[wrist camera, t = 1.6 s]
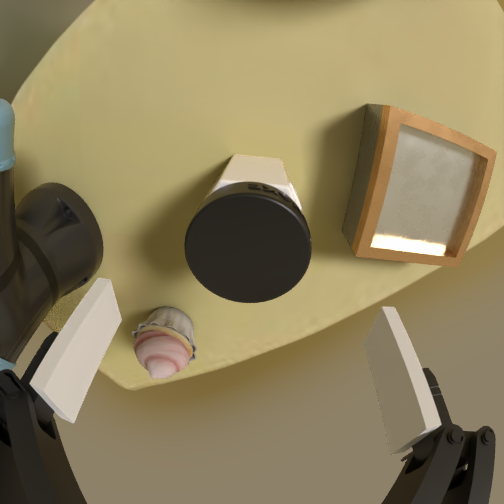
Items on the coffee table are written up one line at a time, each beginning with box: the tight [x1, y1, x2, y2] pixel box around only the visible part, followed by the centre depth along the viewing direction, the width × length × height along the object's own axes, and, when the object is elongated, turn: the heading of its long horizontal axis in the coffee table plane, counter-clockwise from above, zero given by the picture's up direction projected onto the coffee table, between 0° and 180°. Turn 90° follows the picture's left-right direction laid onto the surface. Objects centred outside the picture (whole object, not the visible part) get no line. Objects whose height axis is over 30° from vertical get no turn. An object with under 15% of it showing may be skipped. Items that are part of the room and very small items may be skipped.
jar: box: [185, 154, 311, 303], centre depth 22 cm, size 9×8×12 cm
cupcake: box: [131, 307, 197, 379], centre depth 33 cm, size 9×9×10 cm
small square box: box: [342, 104, 497, 268], centre depth 23 cm, size 14×15×6 cm
